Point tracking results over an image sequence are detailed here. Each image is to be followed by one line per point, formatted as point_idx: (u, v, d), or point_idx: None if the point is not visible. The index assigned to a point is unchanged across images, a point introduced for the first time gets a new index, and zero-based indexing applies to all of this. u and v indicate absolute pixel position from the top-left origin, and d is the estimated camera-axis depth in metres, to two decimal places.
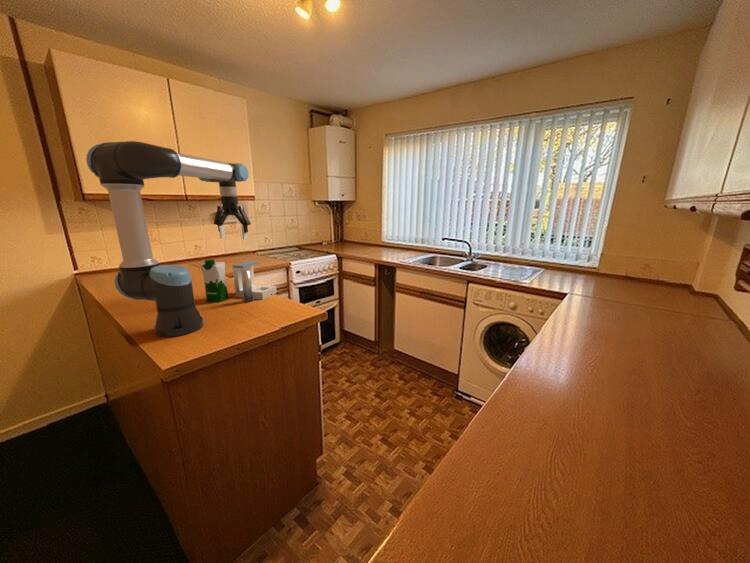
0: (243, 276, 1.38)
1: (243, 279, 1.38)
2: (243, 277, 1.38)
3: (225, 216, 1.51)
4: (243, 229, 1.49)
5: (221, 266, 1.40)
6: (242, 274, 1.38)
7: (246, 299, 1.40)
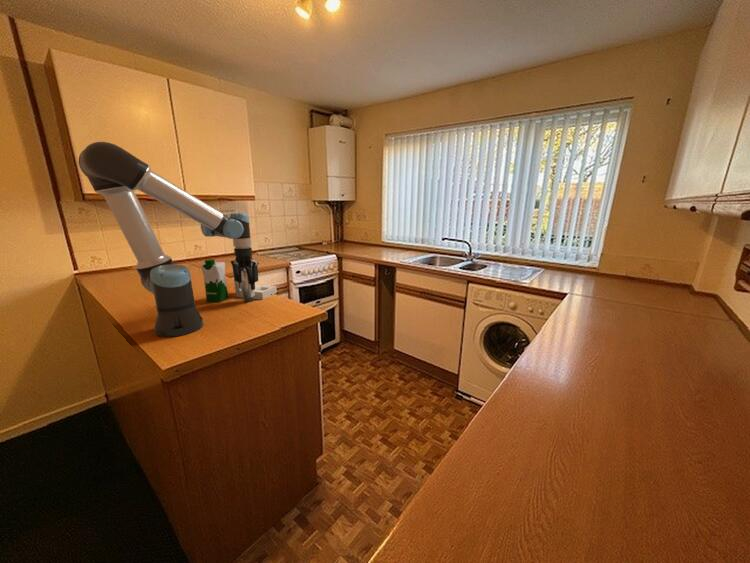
0: (243, 276, 1.38)
1: (243, 279, 1.38)
2: (243, 277, 1.38)
3: (242, 269, 1.39)
4: (250, 286, 1.39)
5: (221, 266, 1.40)
6: (242, 274, 1.38)
7: (246, 299, 1.40)
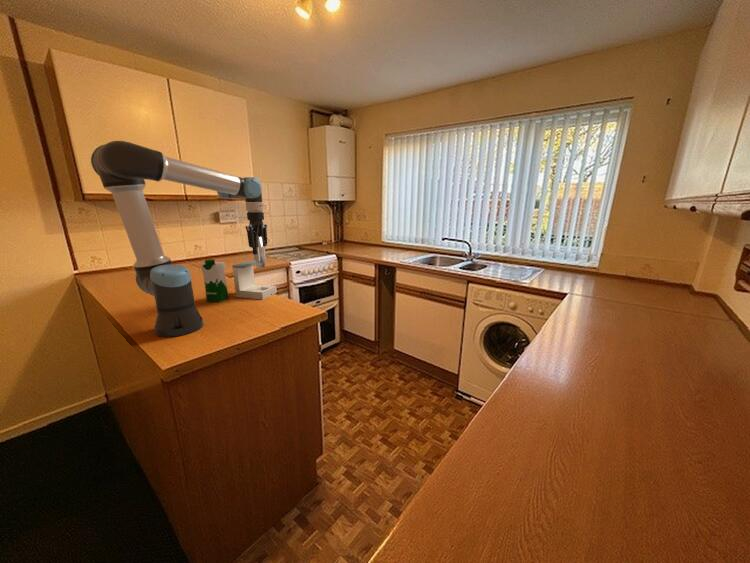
0: None
1: None
2: None
3: (259, 233, 1.45)
4: None
5: (221, 266, 1.40)
6: None
7: None
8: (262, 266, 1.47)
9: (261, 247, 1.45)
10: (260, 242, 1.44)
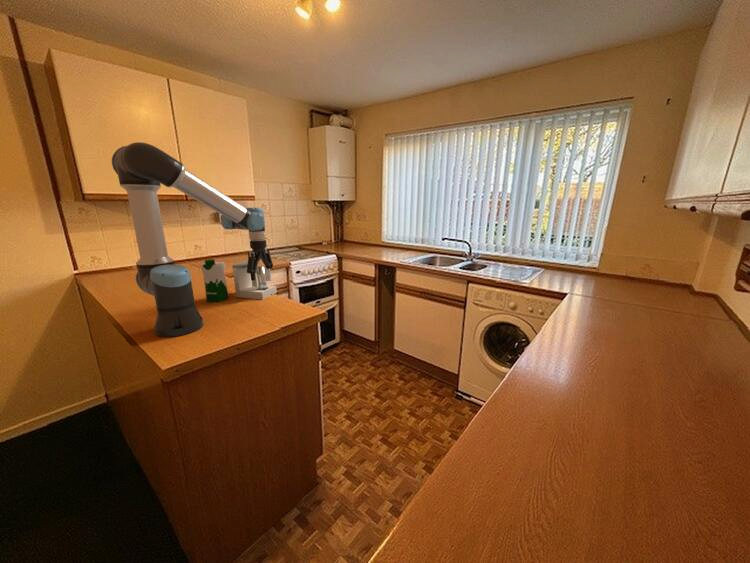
0: None
1: None
2: None
3: (263, 259, 1.50)
4: None
5: (221, 266, 1.40)
6: None
7: None
8: None
9: (264, 276, 1.48)
10: (263, 272, 1.47)
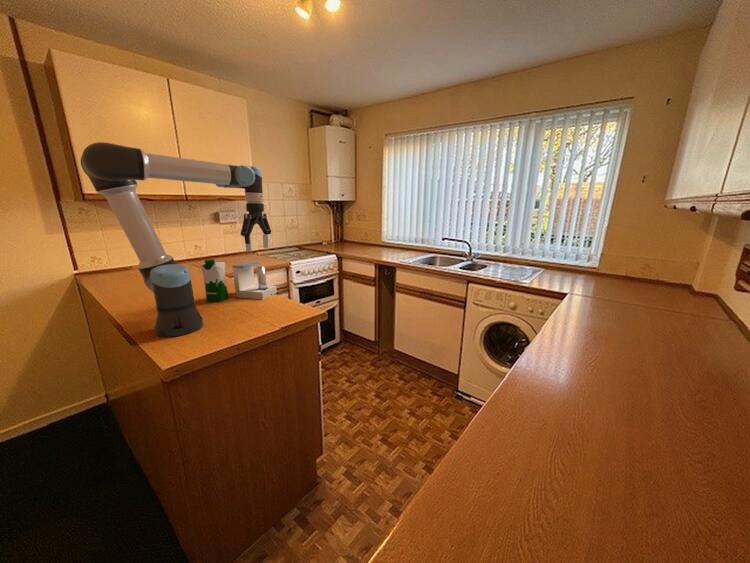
0: None
1: None
2: None
3: (260, 224, 1.40)
4: None
5: (221, 266, 1.40)
6: None
7: None
8: None
9: (264, 276, 1.48)
10: (263, 272, 1.47)
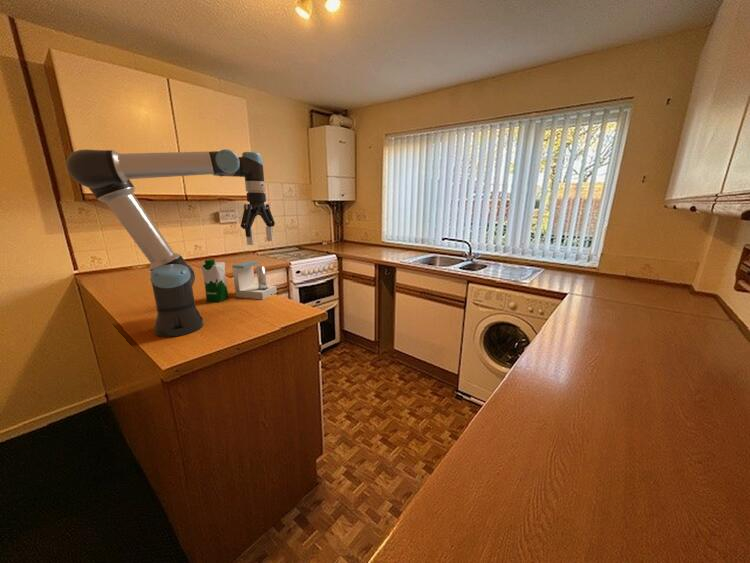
0: None
1: None
2: None
3: (263, 216, 1.30)
4: None
5: (221, 266, 1.40)
6: None
7: None
8: None
9: (264, 276, 1.48)
10: (263, 272, 1.47)
